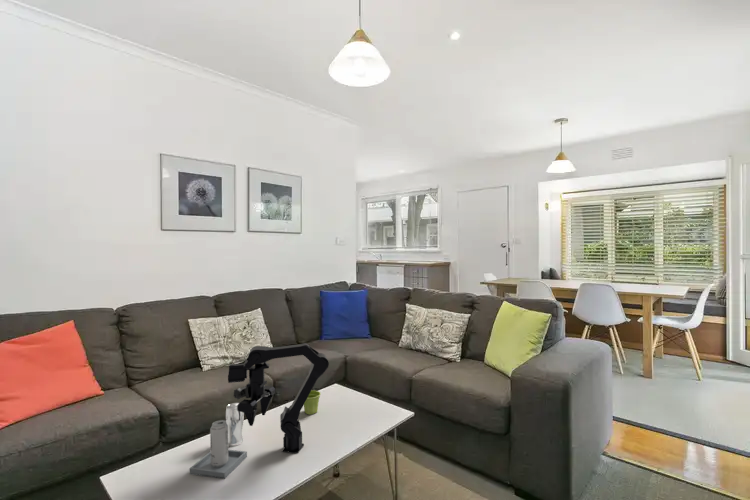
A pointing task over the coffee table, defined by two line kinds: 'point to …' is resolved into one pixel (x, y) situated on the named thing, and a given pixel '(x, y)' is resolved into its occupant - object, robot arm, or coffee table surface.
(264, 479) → the coffee table surface
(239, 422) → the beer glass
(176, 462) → the coffee table surface
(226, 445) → the energy drink can
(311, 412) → the plant pot
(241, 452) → the blue-gray tray
